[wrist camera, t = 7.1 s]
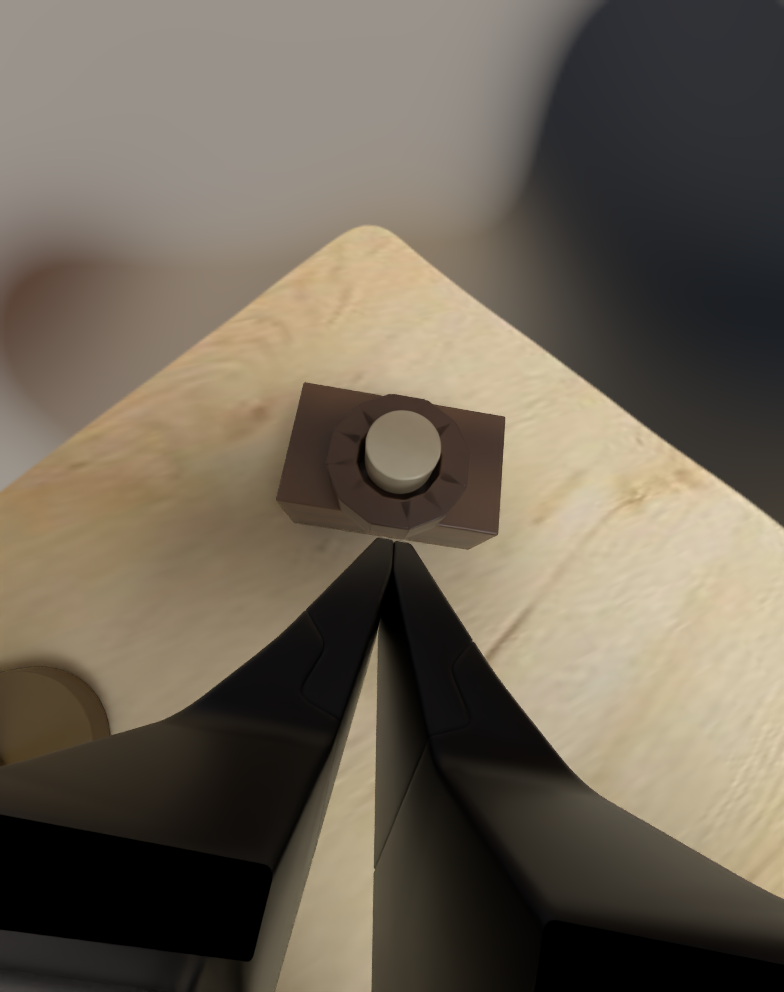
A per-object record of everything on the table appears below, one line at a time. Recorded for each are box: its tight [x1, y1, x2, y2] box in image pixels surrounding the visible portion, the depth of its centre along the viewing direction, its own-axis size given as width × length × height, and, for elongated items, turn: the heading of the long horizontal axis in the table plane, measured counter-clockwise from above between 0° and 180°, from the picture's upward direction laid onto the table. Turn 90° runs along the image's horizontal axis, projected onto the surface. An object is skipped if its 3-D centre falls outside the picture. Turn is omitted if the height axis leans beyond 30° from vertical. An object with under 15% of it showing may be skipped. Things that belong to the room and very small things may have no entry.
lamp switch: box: [365, 410, 441, 494], centre depth 15 cm, size 3×3×2 cm
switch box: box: [276, 382, 505, 550], centre depth 19 cm, size 7×10×7 cm
